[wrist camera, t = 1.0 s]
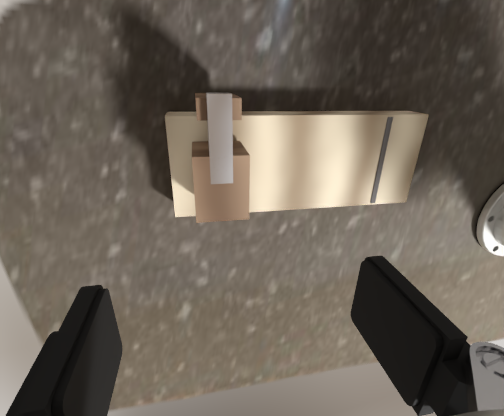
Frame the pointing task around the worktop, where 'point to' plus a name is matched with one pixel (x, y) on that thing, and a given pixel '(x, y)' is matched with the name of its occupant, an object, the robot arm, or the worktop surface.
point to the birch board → (308, 157)
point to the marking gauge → (220, 161)
